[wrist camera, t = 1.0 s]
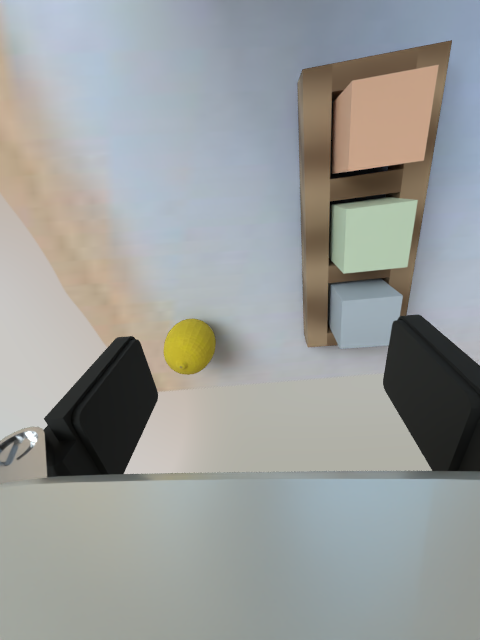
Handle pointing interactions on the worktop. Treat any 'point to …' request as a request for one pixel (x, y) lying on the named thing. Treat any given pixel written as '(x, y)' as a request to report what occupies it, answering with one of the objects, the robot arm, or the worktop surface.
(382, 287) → the button slate
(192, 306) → the worktop surface
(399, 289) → the button board
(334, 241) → the button sage
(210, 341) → the lemon
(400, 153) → the button terracotta
